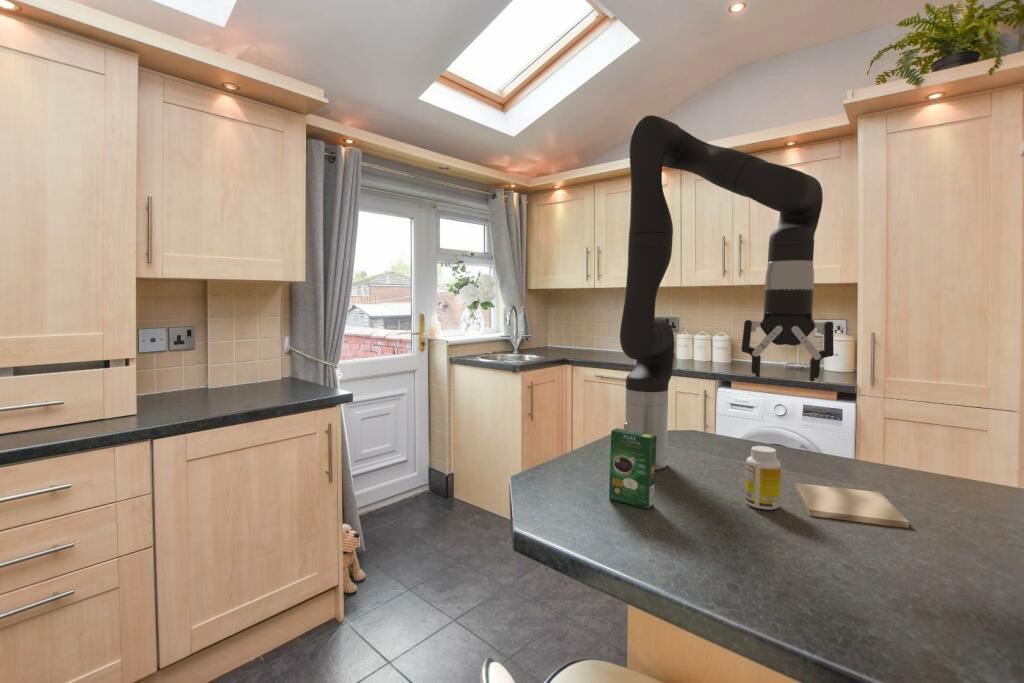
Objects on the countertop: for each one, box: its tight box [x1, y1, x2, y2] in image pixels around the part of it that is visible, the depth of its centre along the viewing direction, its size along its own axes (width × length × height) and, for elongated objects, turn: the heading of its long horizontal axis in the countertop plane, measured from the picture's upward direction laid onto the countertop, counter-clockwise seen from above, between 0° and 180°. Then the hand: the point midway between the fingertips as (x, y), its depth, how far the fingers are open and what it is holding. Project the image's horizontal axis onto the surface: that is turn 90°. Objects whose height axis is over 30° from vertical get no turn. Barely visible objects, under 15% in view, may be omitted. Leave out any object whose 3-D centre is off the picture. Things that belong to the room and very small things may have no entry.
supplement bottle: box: [744, 445, 782, 511], centre depth 89 cm, size 6×6×10 cm
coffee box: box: [608, 427, 657, 510], centre depth 90 cm, size 8×3×13 cm, turn 52°
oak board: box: [794, 482, 910, 529], centre depth 89 cm, size 14×14×1 cm
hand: (784, 378), depth 89 cm, fingers open, 8 cm apart
